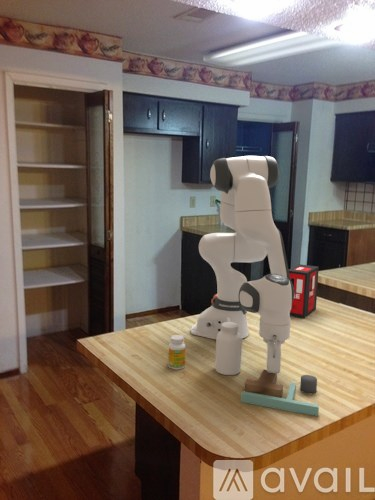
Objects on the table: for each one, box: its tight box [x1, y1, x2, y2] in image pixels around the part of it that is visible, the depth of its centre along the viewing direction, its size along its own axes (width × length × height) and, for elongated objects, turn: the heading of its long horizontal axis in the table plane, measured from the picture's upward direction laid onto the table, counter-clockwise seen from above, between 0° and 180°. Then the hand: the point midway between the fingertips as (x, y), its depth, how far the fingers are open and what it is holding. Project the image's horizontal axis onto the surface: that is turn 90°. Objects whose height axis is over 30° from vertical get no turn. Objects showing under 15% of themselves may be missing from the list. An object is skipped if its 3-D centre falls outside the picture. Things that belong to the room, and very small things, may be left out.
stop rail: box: [240, 382, 320, 417], centre depth 120 cm, size 20×12×2 cm, turn 71°
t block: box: [244, 369, 284, 398], centre depth 125 cm, size 10×11×4 cm
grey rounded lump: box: [299, 374, 318, 394], centre depth 125 cm, size 4×4×4 cm
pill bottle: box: [214, 322, 243, 376], centre depth 136 cm, size 8×8×15 cm
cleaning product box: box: [288, 263, 320, 320], centre depth 196 cm, size 16×9×20 cm, turn 147°
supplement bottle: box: [167, 334, 187, 370], centre depth 139 cm, size 5×5×10 cm
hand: (272, 374), depth 131 cm, fingers closed
